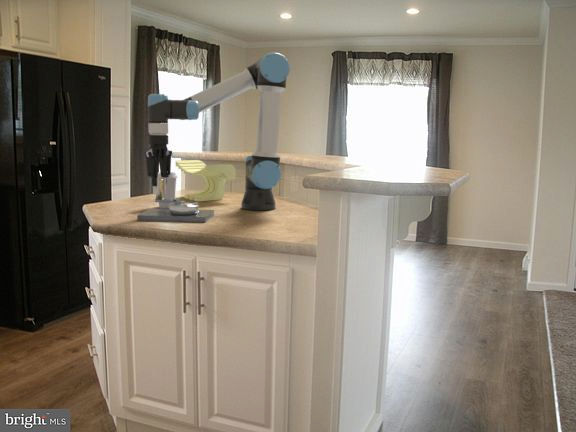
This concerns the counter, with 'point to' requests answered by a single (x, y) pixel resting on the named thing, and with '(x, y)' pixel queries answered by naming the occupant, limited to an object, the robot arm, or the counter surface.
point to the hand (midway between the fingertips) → (159, 193)
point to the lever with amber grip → (177, 204)
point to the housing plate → (174, 216)
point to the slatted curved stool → (208, 178)
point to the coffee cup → (169, 189)
